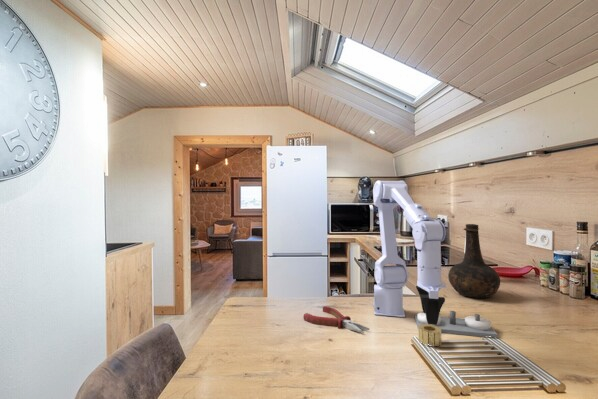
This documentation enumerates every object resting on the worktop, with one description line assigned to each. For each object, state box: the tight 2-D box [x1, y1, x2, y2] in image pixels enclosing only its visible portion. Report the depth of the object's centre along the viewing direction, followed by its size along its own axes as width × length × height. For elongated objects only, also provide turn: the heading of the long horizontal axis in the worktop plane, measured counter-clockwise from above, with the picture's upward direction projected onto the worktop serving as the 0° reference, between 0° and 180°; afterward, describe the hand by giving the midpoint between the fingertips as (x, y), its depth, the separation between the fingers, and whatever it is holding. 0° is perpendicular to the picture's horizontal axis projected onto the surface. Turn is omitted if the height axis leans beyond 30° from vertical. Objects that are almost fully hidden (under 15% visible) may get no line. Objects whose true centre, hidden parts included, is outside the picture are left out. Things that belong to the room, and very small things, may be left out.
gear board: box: [414, 310, 499, 339], centre depth 89 cm, size 20×10×4 cm, turn 75°
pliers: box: [303, 306, 370, 334], centre depth 92 cm, size 12×20×3 cm, turn 45°
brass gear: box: [417, 324, 443, 347], centre depth 79 cm, size 5×5×4 cm
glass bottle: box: [447, 223, 501, 299], centre depth 120 cm, size 18×18×28 cm
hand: (429, 318), depth 79 cm, fingers open, 7 cm apart
